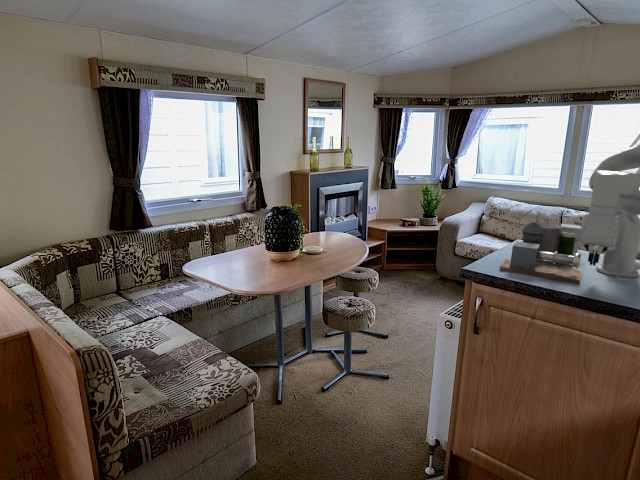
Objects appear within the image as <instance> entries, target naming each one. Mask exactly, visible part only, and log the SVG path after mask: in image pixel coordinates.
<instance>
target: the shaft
mask: <svg viewBox="0 0 640 480" xmlns="http://www.w3.org/2000/svg"><path fill="white" fill-rule="evenodd" d="M557 253H558V251H555V253H550V252H543V251H538V252H537V259H540V260H547V261H546V262H552V263H553V265H556V263H557V262H559V263H566V264H570V265H571V268H573V269H579V267H580V262H581V256H582V254H581V253H578V252H577V253H574V256H570V255H564V254H557ZM540 260H539V261H540ZM559 263H558V264H559Z"/></svg>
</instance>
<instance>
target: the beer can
mask: <svg viewBox="0 0 640 480" xmlns="http://www.w3.org/2000/svg"><path fill="white" fill-rule="evenodd" d="M575 240H576V234H575V233H571V232H561V234H560V239H559V245H558V253H557V254H564V255H570V256H573V252H574V246H575ZM556 263H557V264H559V265H563V266H568V265H571V264H566V263H559V262H556Z"/></svg>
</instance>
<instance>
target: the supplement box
mask: <svg viewBox="0 0 640 480" xmlns="http://www.w3.org/2000/svg"><path fill="white" fill-rule="evenodd" d="M559 226H561V227H562V230H561V232H571V233H575V234H576V240H575V246H574V252H573V256H574V253H578V251H579V247H580V246H579V245H578V244H577V243H578V241H579V239H580V231H581V227H582V225H577V224H568V223H567V224H566V223H560V224H559Z"/></svg>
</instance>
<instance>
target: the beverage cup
mask: <svg viewBox="0 0 640 480" xmlns="http://www.w3.org/2000/svg"><path fill="white" fill-rule="evenodd" d="M540 212H541V211H538V212H537V216H536V220H535V221H534V222H529V223H527V224H526V225H525V226H524V227H523V229H522V242H525V243H533V244H540V240H541V238H542V235H543V229H542V227H541V226H540V225H539V224H538V223H539V222H538V219H539V217H540V214H541V213H540Z"/></svg>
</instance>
